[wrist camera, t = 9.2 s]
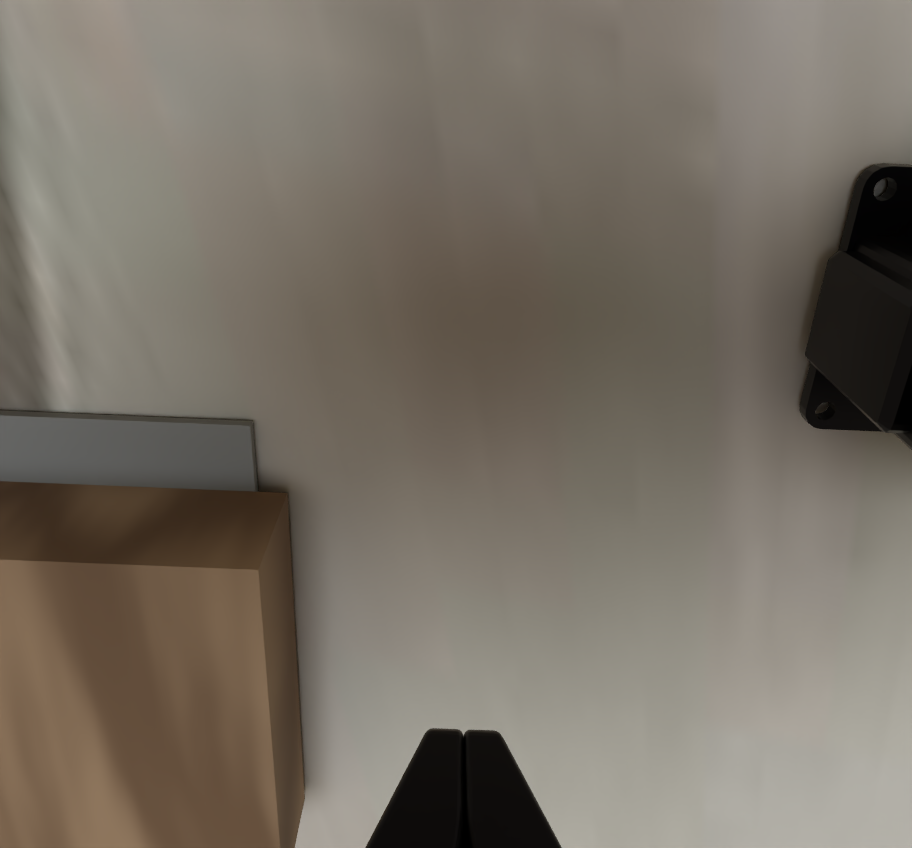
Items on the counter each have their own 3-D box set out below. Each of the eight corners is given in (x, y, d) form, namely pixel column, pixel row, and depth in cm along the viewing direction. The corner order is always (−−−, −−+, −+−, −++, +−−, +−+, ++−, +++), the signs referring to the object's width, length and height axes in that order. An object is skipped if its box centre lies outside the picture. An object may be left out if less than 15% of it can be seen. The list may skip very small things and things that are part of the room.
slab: (258, 569, 19) (-130, 554, 19) (283, 898, 24) (-19, 887, 24) (287, 493, 22) (-45, 479, 22) (304, 798, 27) (37, 788, 27)
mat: (253, 420, 21) (250, 425, 21) (283, 829, 28) (281, 837, 28) (-166, 403, 21) (-174, 408, 21) (-31, 818, 28) (-36, 825, 28)
